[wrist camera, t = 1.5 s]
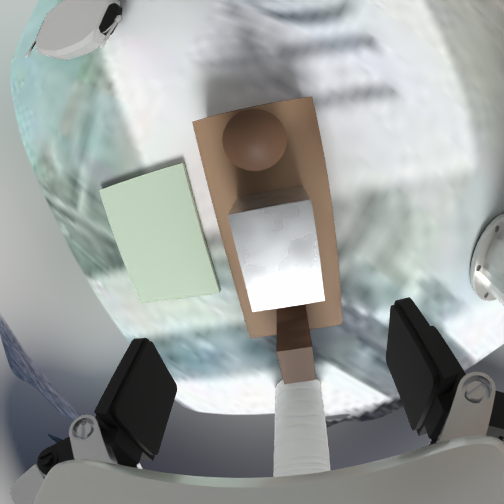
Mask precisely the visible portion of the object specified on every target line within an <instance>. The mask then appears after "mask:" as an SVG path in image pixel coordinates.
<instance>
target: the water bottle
mask: <svg viewBox="0 0 504 504" xmlns="http://www.w3.org/2000/svg"><path fill="white" fill-rule="evenodd" d="M275 402H276V403H275V413H276V414H275V439H274V448H275V451H274V475H273V476H274V477H282V476H294V475H303V474H311V473H319V472H325V471H331V470H330V463H329V448H328V439H327V433H326V422H325V413H324V405H323V399H322V389H321V384H320V382H319V381H318V380H317V379H316V380H312V381H305V382H298V383H291V384H284V381H283V379H282V380H281V381H280V382H279V383H278V384H277V386H276V389H275Z"/></svg>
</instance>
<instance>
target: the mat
mask: <svg viewBox="0 0 504 504" xmlns="http://www.w3.org/2000/svg"><path fill="white" fill-rule="evenodd" d="M99 191H100V195H101V198H102V201H103V204H104V208H105V211H106V214H107V217H108V220H109V223H110V226H111V229H112V232H113V234H114V237H115V240H116V243H117V245H118V248H119V251H120V253H121V256H122V259H123V261H124V264H125V266H126V269H127V271H128V274H129V276H130V279H131V281H132V283H133V286H134V288H135V290H136V293H137V295H138V297H139V300H140V302H141V303H148V302H156V301H165V300H173V299H181V298H188V297H196V296H203V295H211V294H218V293H220V291H221V290H220V286H219V283H218V280H217V277H216V273H215V270H214V267H213V264H212V260H211V257H210V253H209V250H208V247H207V243H206V240H205V236H204V233H203V229H202V226H201V222H200V219H199V215H198V212H197V208H196V204H195V201H194V197H193V193H192V190H191V186H190V182H189V178H188V175H187V171H186V167H185V163H180V164H177V165H173V166H170V167H167V168H163V169H160V170H157V171H154V172H150V173H147V174H144V175H141V176H138V177H135V178H132V179H129V180H126V181H123V182H120V183H118V184H115V185H112V186H109V187H107V188H104V189H101V190H99Z"/></svg>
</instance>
